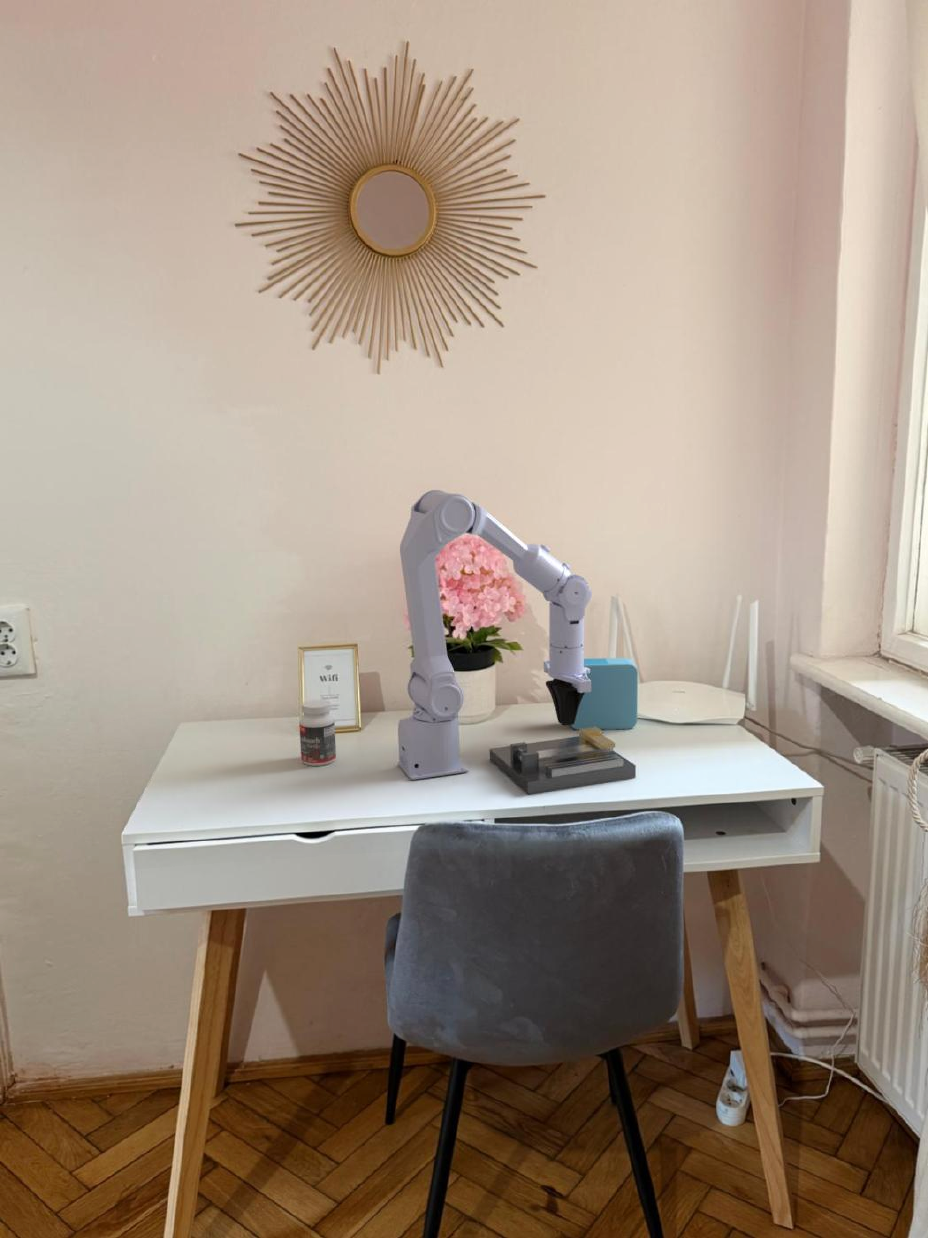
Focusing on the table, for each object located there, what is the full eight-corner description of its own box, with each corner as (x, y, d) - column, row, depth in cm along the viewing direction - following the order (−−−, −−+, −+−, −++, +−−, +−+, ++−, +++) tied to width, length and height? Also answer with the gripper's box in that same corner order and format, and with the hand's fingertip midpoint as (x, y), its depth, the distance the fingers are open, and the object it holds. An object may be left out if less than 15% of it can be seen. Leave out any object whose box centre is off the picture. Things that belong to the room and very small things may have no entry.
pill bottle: (294, 764, 164) (290, 705, 162) (315, 753, 169) (311, 696, 167) (323, 769, 162) (319, 710, 160) (343, 758, 167) (340, 700, 165)
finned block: (527, 794, 149) (527, 763, 148) (489, 760, 164) (489, 731, 163) (635, 777, 155) (635, 746, 154) (589, 746, 169) (589, 717, 168)
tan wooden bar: (524, 766, 153) (524, 757, 153) (516, 760, 156) (516, 751, 155) (613, 753, 158) (613, 745, 157) (604, 747, 161) (604, 739, 160)
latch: (599, 762, 156) (599, 742, 155) (578, 747, 163) (578, 728, 162) (616, 759, 157) (617, 740, 156) (595, 745, 164) (595, 726, 163)
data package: (633, 721, 182) (634, 657, 180) (637, 729, 178) (638, 663, 175) (567, 722, 182) (567, 658, 180) (569, 730, 178) (569, 665, 175)
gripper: (608, 651, 160) (607, 733, 163) (570, 633, 174) (569, 708, 176) (568, 656, 158) (567, 738, 161) (532, 637, 171) (532, 713, 174)
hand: (566, 723), depth 168 cm, fingers closed
